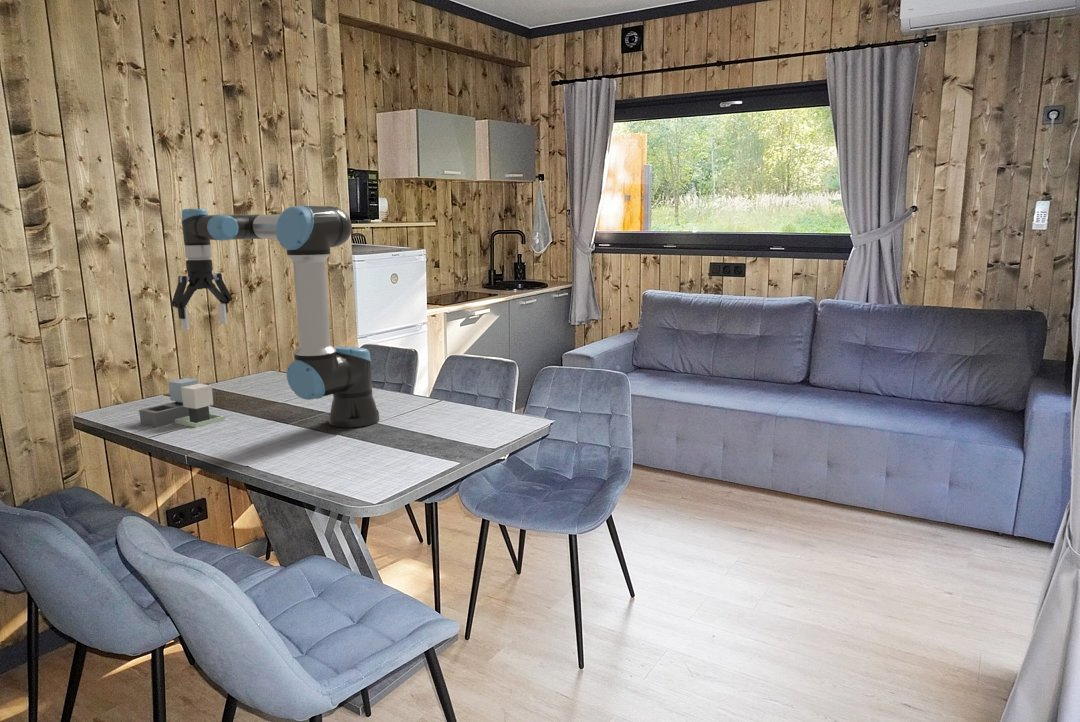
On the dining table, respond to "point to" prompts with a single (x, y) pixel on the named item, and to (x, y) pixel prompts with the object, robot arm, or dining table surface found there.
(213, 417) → the tray
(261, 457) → the dining table surface
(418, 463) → the dining table surface
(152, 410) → the strip
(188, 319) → the robot arm
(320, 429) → the dining table surface
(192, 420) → the plug
